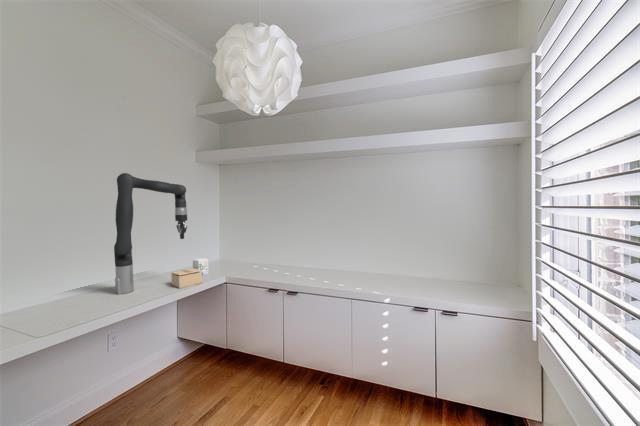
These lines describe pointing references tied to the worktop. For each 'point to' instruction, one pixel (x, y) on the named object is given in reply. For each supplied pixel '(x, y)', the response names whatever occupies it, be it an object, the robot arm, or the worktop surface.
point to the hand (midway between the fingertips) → (182, 238)
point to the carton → (187, 279)
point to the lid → (185, 271)
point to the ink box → (201, 265)
